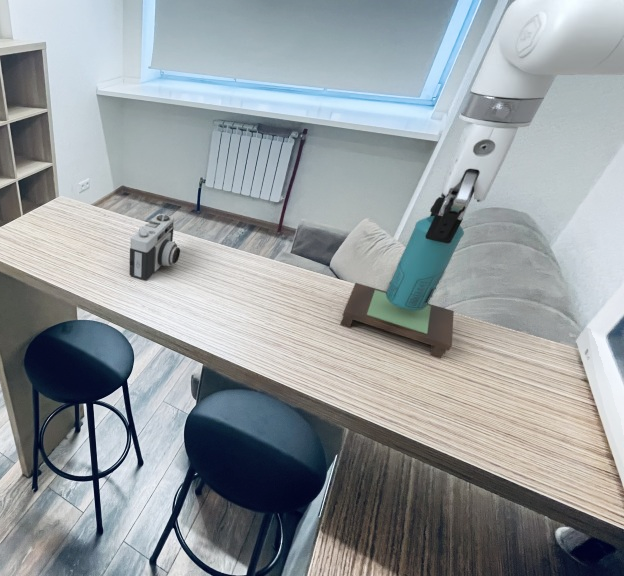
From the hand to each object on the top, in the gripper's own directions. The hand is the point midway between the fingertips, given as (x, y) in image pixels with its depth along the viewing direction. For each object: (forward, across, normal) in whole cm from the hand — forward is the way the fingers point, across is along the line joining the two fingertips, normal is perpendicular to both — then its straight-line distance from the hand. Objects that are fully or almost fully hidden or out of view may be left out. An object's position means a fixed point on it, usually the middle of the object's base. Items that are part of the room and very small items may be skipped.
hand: (438, 230), depth 64 cm
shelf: (+20, 0, 0) cm, 20 cm away
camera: (+20, -6, +46) cm, 50 cm away
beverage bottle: (+15, 0, 0) cm, 15 cm away
